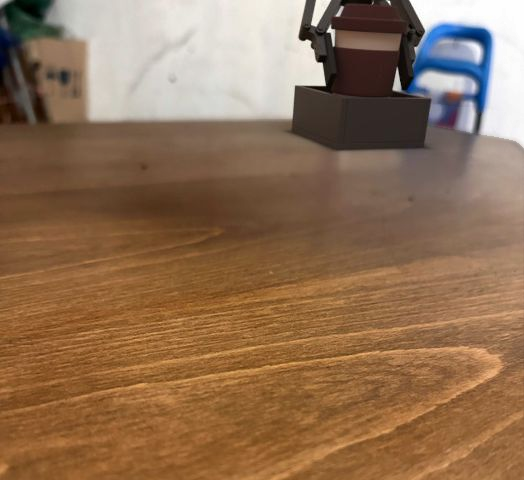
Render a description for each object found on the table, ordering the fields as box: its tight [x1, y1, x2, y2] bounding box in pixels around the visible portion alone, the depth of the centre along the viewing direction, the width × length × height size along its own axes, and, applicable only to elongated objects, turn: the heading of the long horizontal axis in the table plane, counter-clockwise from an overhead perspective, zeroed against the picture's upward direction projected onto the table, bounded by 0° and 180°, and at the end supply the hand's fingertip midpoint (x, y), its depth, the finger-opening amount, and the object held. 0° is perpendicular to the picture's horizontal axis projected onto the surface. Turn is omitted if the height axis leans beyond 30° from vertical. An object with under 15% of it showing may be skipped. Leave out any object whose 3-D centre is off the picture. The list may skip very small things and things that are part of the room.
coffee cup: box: [330, 4, 408, 98], centre depth 90 cm, size 10×10×15 cm
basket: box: [291, 84, 432, 151], centre depth 93 cm, size 14×14×6 cm
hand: (370, 82), depth 88 cm, fingers closed on coffee cup, 10 cm apart
